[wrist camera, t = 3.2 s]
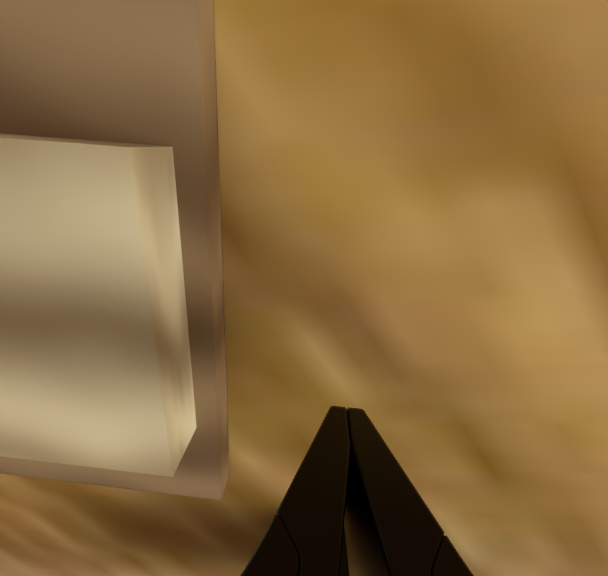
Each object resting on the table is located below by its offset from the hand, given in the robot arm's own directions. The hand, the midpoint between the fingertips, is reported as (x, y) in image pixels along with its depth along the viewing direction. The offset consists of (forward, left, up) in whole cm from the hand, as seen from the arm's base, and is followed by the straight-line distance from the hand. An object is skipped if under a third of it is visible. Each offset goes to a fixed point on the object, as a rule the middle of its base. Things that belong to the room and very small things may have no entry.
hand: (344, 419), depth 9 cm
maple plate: (0, +10, -5) cm, 11 cm away
